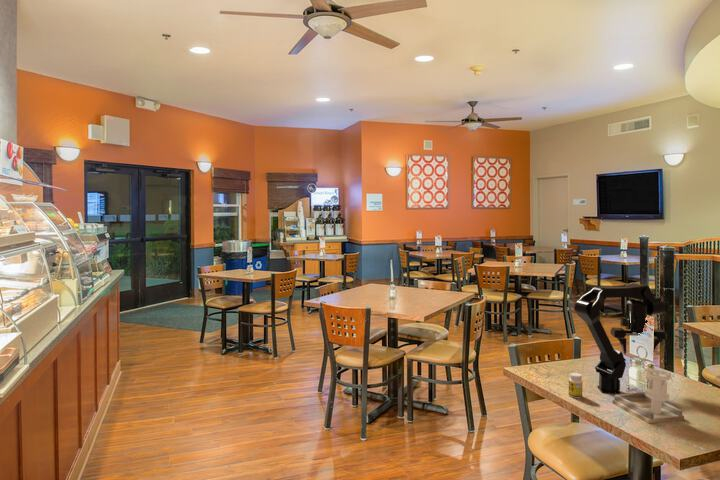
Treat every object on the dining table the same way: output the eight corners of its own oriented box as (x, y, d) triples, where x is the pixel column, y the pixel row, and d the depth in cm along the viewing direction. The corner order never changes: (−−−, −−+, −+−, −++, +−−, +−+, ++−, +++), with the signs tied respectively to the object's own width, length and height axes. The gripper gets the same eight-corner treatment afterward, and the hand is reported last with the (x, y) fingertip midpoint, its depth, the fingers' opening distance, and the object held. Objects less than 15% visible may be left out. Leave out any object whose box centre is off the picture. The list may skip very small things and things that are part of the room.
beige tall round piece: (643, 405, 173) (645, 364, 171) (666, 409, 170) (669, 367, 168) (644, 414, 167) (647, 371, 165) (669, 418, 164) (672, 375, 162)
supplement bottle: (566, 393, 189) (566, 372, 188) (577, 393, 189) (578, 372, 189) (572, 398, 184) (573, 376, 183) (584, 398, 184) (585, 376, 184)
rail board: (612, 403, 180) (612, 395, 179) (645, 399, 182) (645, 392, 182) (648, 423, 163) (648, 414, 163) (684, 419, 166) (684, 410, 165)
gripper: (656, 312, 200) (655, 349, 201) (606, 310, 203) (605, 347, 204) (668, 318, 189) (666, 358, 190) (615, 316, 192) (614, 355, 193)
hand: (637, 354), depth 194 cm, fingers open, 9 cm apart
